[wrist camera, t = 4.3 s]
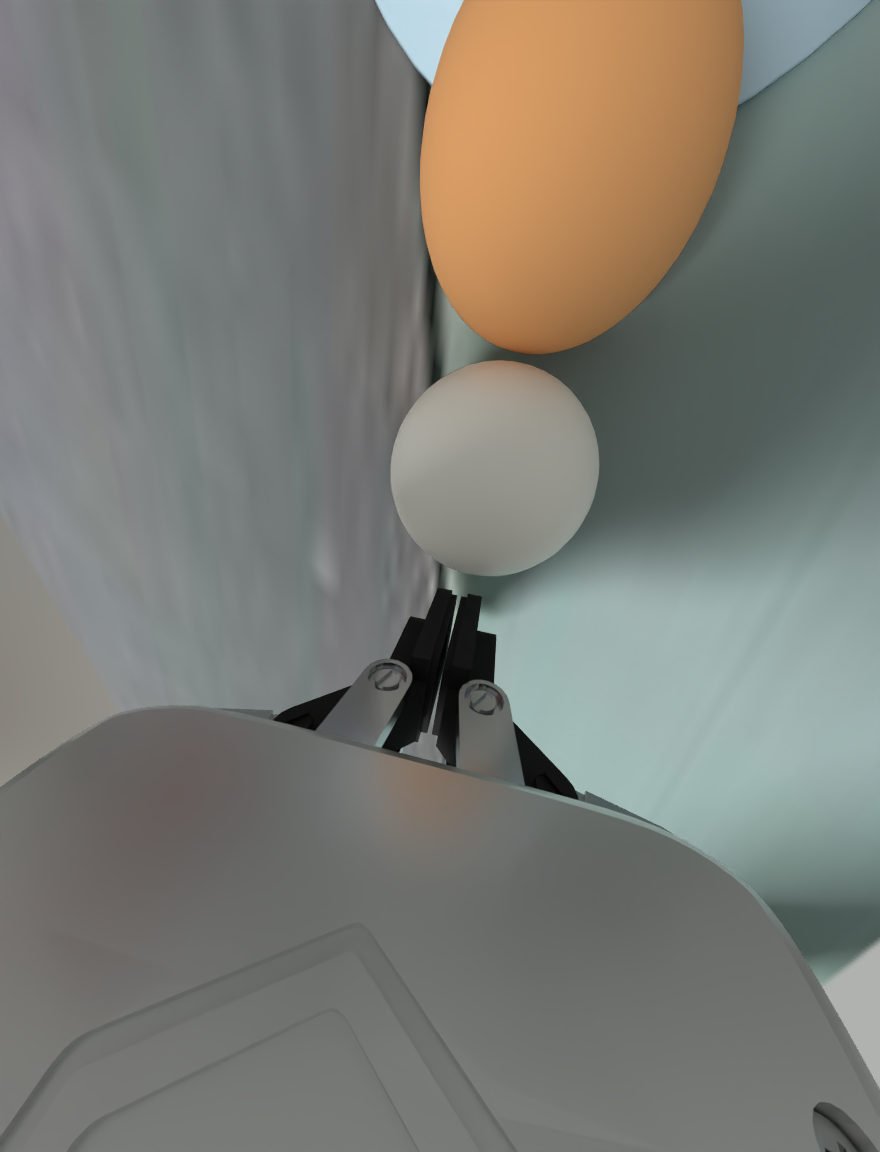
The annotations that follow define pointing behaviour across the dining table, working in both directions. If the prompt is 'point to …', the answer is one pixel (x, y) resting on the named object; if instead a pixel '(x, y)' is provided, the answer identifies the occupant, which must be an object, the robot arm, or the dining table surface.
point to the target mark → (770, 17)
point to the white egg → (494, 468)
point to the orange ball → (572, 157)
